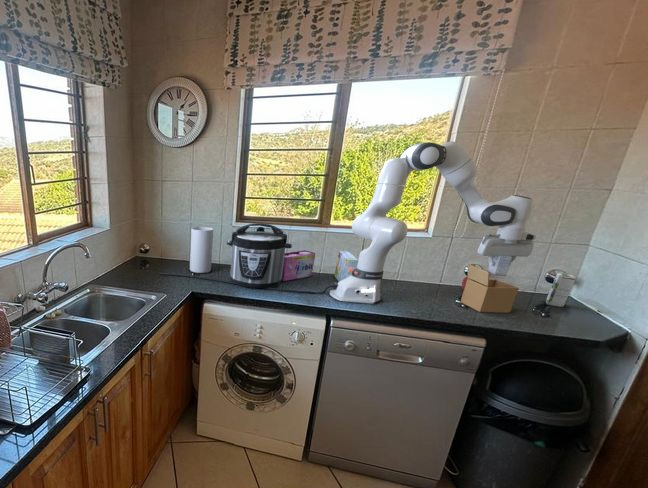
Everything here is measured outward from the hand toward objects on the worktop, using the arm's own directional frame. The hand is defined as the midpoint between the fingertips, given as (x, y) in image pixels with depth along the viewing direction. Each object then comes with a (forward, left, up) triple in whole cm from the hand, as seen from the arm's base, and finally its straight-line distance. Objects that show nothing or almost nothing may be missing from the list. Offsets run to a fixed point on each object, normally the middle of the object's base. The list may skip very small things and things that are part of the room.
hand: (499, 265), depth 178 cm
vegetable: (+7, +20, -20) cm, 29 cm away
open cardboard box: (-1, 0, -20) cm, 20 cm away
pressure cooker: (-100, +30, -20) cm, 106 cm away
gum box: (-76, +43, -20) cm, 89 cm away
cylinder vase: (-128, +52, -20) cm, 139 cm away
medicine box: (0, 0, -4) cm, 4 cm away
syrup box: (+35, +6, -20) cm, 41 cm away
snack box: (-51, +35, -20) cm, 65 cm away
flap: (-8, 0, -4) cm, 9 cm away
